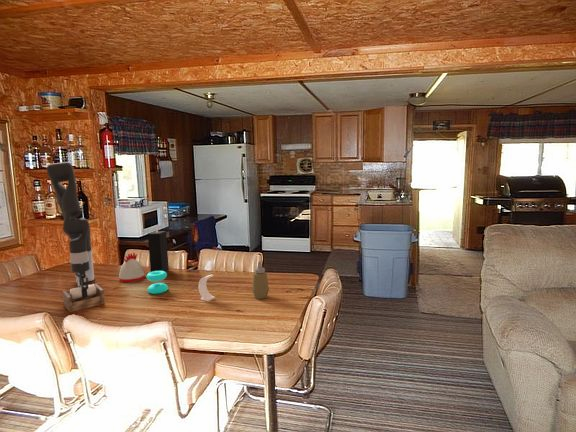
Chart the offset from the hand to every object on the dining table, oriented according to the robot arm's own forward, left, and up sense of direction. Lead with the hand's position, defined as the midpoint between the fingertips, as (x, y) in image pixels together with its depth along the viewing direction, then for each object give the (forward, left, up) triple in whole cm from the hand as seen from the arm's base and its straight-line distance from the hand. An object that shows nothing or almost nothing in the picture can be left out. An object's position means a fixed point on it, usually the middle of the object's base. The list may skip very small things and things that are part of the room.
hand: (83, 295), depth 178 cm
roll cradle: (0, 0, -4) cm, 4 cm away
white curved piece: (+35, +46, -5) cm, 58 cm away
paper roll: (0, 0, -1) cm, 1 cm away
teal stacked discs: (+7, +33, -5) cm, 34 cm away
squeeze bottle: (+52, +66, -5) cm, 84 cm away
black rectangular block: (-27, +48, -5) cm, 55 cm away
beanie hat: (-26, +31, -5) cm, 41 cm away
